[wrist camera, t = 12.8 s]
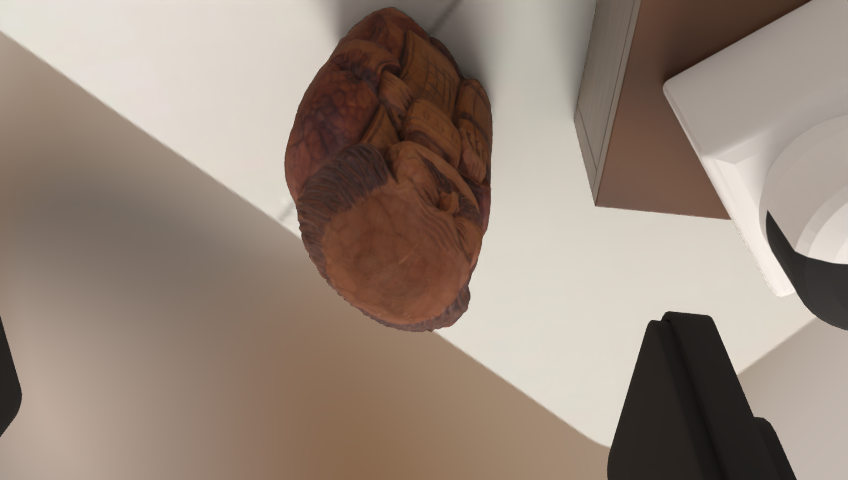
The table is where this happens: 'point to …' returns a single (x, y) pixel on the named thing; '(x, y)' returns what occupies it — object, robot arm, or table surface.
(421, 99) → the wooden figurine
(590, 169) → the walnut shelf
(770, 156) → the medicine bottle
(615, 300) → the table surface
